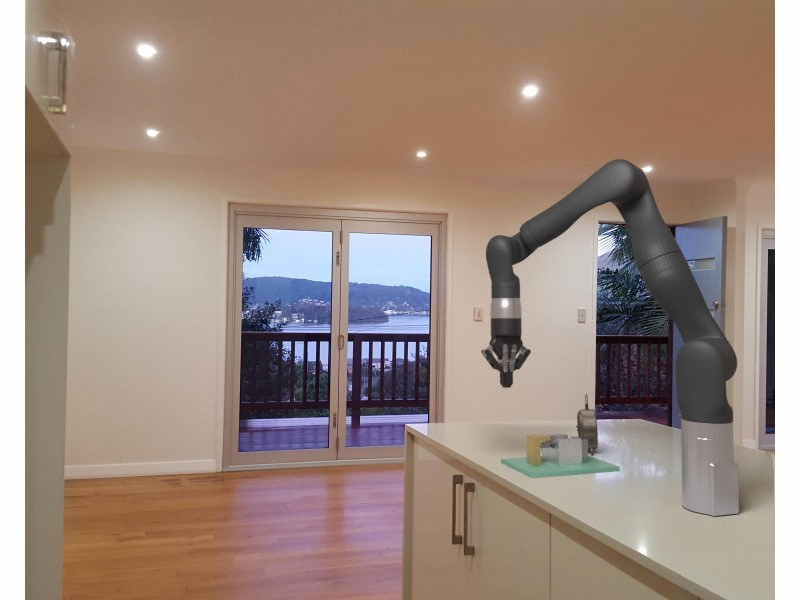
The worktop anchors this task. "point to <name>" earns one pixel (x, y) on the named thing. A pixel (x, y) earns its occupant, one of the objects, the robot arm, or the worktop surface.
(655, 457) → the worktop surface
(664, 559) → the worktop surface
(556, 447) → the heat sink
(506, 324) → the robot arm
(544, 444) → the strap
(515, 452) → the worktop surface
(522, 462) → the pcb board
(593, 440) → the alarm clock
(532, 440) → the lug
